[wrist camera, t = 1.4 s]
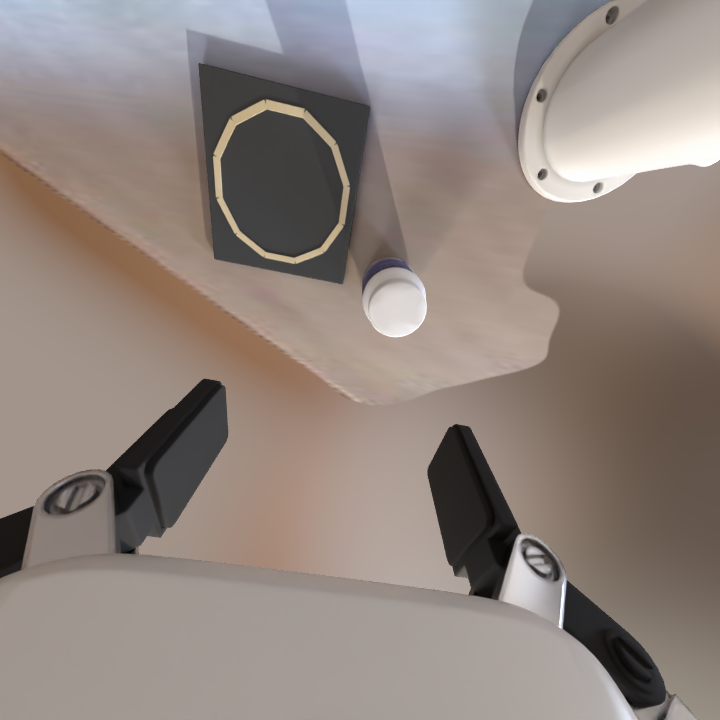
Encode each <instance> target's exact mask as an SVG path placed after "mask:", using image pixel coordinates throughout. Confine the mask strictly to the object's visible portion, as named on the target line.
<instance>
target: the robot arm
mask: <svg viewBox="0 0 720 720" xmlns="http://www.w3.org/2000/svg"><path fill="white" fill-rule="evenodd" d="M537 96H538V98H539V99H538V101H537V98H536V97H537ZM518 151H519V159H520V163H521V167H522V170H523V173H524V175H525V177H526V179H527V181H528V182H529V184H530V185H531V186H532V187H533V189H534V190H535V191H537V192H538V193H539V194H541V195H542V196H543V197H545V198H548V199H551V200H553V201H558V202H580V201H585V200H589V199H594V198H596V197H599V196H601V195H604V194H606V193H608V192H610V191H611V190H613V189H615V188H617V187H618V186H620V185H622V184H623V183H624V182H626V181H627V180H628V179H630V178H631V177H632V176H633V175H635V174H636V173H638V172H644V171H650V170H656V169H662V168H668V167H674V166H680V165H686V164H693V165H698V166H701V167H704V166H709V165H711V164H713V163H715V162H717V161H718V160H719V159H720V0H613V1H610V2H608V3H606V4H605V5H603V6H602V7H600V8H598V9H597V10H595V11H594V12H592V13H591V14H589V15H588V16H587V17H586V18H585V19H584V20H582V21H581V22H580V23H579V24H578V25H577V26H576V27H574V28H573V29H572V30H571V31H570V32H569V33H568V34H567V35H566V36H565V37H564V38H563V40H562V41H561V42H560V43H559V44H558V45H557V46H556V47H555V49H554V50H553V51H552V53H551V54H550V55H549V57H548V58H547V60H546V61H545V62H544V64H543V66H542V67H541V69H540V71H539V73H538V74H537V76H536V78H535V80H534V82H533V84H532V86H531V89H530V91H529V94H528V96H527V99H526V101H525V104H524V108H523V112H522V116H521V119H520V126H519V135H518ZM538 173H539V177H537V176H538ZM227 438H228V423H227V406H226V390H225V386H222V385H221V382H220V381H215V380H209V379H203V380H202V381H201V382H199V384H197V386H195V388H193V389H192V391H190V392H189V393H188V394H187V395H186V396H185V397H184V398H183V399H182V400H181V401H180V402H179V403H178V404H177V405H176V406H175V407H174V408H172V409H169V410H168V411H167V412H166V413H165V414H164V415H163V416H162V417H160V419H158V420H157V422H155V423H154V424H153V425H152V426H151V427H150V428H149V429H148V430H147V431H146V432H145V433H144V434H143V435H142V436H141V437H140V438H139V439H138V440H137V441H136V442H135V443H134V444H133V445H132V446H131V447H130V448H129V449H128V450H127V451H126V452H125V453H124V454H122V455H121V457H119V458H118V459H117V460H116V461H115V462H114V463H113V464H112V465H111V466H110V467H109V468H108V469H107V470H106V471H103V470H99V469H98V470H86V471H81V472H78V473H75V474H72V475H70V476H67V477H65V478H63V479H61V480H60V481H58V482H56V483H54V484H53V485H52V486H50V487H49V488H48V489H47V490H45V491H44V492H43V493H42V495H41V496H40V497H39V498H38V499H37V501H36V503H35V506H33V507H30V508H27V509H25V510H22V511H19V512H17V513H14V514H12V515H9V516H6V517H4V518H1V519H0V720H699V719H698V718H697V717H696V716H695V715H694V714H693V712H691V710H690V709H689V708H688V707H687V706H686V705H685V704H684V703H683V701H682V700H681V699H680V698H679V697H678V696H677V695H676V694H674V695H670V694H669V693H668V692H667V691H666V689H665V685H664V681H663V679H662V677H661V674H660V672H659V670H658V668H657V667H656V665H655V664H654V662H653V660H652V659H651V657H650V656H649V654H648V653H647V652H646V651H645V649H644V648H643V647H642V646H641V645H640V644H639V642H637V641H636V640H635V639H634V638H633V637H632V636H631V635H630V634H629V633H628V632H627V631H626V630H625V629H623V628H622V627H621V626H620V625H619V624H618V623H616V622H615V621H614V620H613V619H612V618H611V617H609V616H608V615H607V614H606V613H605V612H603V611H602V610H601V609H600V608H599V607H598V606H597V605H595V604H594V603H593V602H592V601H591V600H590V599H588V598H587V597H586V596H585V595H584V594H583V593H581V592H580V591H579V590H578V589H577V588H575V587H574V586H573V585H572V584H571V583H570V582H568V581H567V578H566V571H565V569H564V566H563V564H562V562H561V560H560V559H559V557H558V556H557V554H556V553H555V552H554V551H553V550H552V548H551V547H550V546H549V545H547V544H546V543H545V542H544V541H542V540H541V539H540V538H538V537H536V536H534V535H531V534H529V533H522V534H521V532H520V530H519V528H518V525H517V523H516V521H515V519H514V517H513V514H512V512H511V510H510V508H509V506H508V504H507V502H506V500H505V498H504V496H503V494H502V492H501V490H500V488H499V486H498V484H497V482H496V480H495V477H494V475H493V473H492V471H491V469H490V467H489V465H488V463H487V461H486V459H485V457H484V455H483V453H482V451H481V449H480V447H479V445H478V443H477V440H476V438H475V436H474V434H473V433H472V430H471V428H470V427H468V426H463V425H458V424H455V425H453V427H449V428H448V430H447V432H446V434H445V436H444V438H443V440H442V442H441V444H440V446H439V448H438V450H437V452H436V454H435V455H434V457H433V460H432V461H431V463H430V465H429V467H428V479H429V483H430V488H431V492H432V496H433V500H434V505H435V509H436V514H437V518H438V522H439V526H440V530H441V535H442V539H443V544H444V548H445V552H446V557H447V560H448V562H449V564H450V565H451V566H453V571H454V575H455V576H457V577H465V578H468V579H469V582H470V586H471V590H470V592H469V595H465V594H459V593H452V592H446V591H439V590H431V589H424V588H416V587H409V586H401V585H394V584H386V583H378V582H371V581H363V580H354V579H347V578H339V577H332V576H324V575H316V574H308V573H299V572H292V571H284V570H276V569H268V568H259V567H251V566H243V565H234V564H226V563H218V562H209V561H201V560H192V559H182V558H172V557H162V556H152V555H141V554H139V547H138V546H140V545H141V544H142V543H143V541H144V540H145V538H146V537H147V536H152V537H159V538H161V536H162V535H163V533H164V531H165V530H166V529H167V528H170V527H172V526H173V525H174V524H175V523H176V521H177V519H178V518H179V516H180V515H181V513H182V511H183V510H184V508H185V507H186V505H187V503H188V502H189V500H190V499H191V497H192V495H193V494H194V492H195V490H196V489H197V487H198V486H199V484H200V483H201V481H202V480H203V478H204V476H205V475H206V473H207V472H208V470H209V468H210V467H211V465H212V463H213V462H214V460H215V458H216V457H217V455H218V454H219V452H220V450H221V449H222V448H223V446H224V444H225V443H226V441H227Z"/></svg>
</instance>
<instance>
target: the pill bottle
mask: <svg viewBox="0 0 720 720" xmlns="http://www.w3.org/2000/svg"><path fill="white" fill-rule="evenodd" d="M362 303H363V308H364V311H365V313H366V315H367V317H368V318H369V320H370V321H371V323H372V325H373V326H374V328H375V329H376V330H377V331H379V332H380V333H382V334H384V335H386V336H390V337H401V336H405V335H408V334H410V333H412V332H413V331H415V330H416V329H417V328H418V327H419V326H420V324H421V323H422V322H423V320H424V317H425V314H426V309H427V305H426V294H425V289H424V286H423V284H422V282H421V280H420V279H419V278H418V276H417V275H416V274H415V273H414V272H413V271H412V270H411V269H410V267H409V266H408V265H407V264H406V263H405V262H404V261H402V260H400V259H398V258H395V257H383V258H380V259H378V260H376V261H374V262H373V263H372V264H371V265H370V266H369V267H368V269H367V270H366V272H365V274H364V277H363V284H362Z"/></svg>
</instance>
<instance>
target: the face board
mask: <svg viewBox="0 0 720 720" xmlns="http://www.w3.org/2000/svg"><path fill="white" fill-rule="evenodd" d="M199 75H200V87H201V99H202V111H203V124H204V136H205V148H206V161H207V173H208V185H209V197H210V210H211V222H212V234H213V247H214V259H216V260H221V261H226V262H231V263H236V264H241V265H247V266H252V267H257V268H262V269H267V270H272V271H277V272H282V273H287V274H292V275H297V276H303V277H308V278H313V279H318V280H323V281H328V282H333V283H338V284H343V279H344V273H345V266H346V260H347V253H348V247H349V240H350V234H351V227H352V221H353V214H354V208H355V201H356V195H357V189H358V182H359V176H360V169H361V163H362V156H363V150H364V143H365V137H366V130H367V124H368V117H369V111H370V106H367V105H363V104H359V103H355V102H351V101H347V100H343V99H339V98H335V97H331V96H327V95H323V94H319V93H315V92H311V91H307V90H303V89H299V88H296V87H292V86H288V85H284V84H280V83H276V82H272V81H268V80H264V79H260V78H256V77H252V76H248V75H244V74H240V73H236V72H232V71H228V70H224V69H220V68H216V67H212V66H208V65H205V64H201V63H199Z"/></svg>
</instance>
